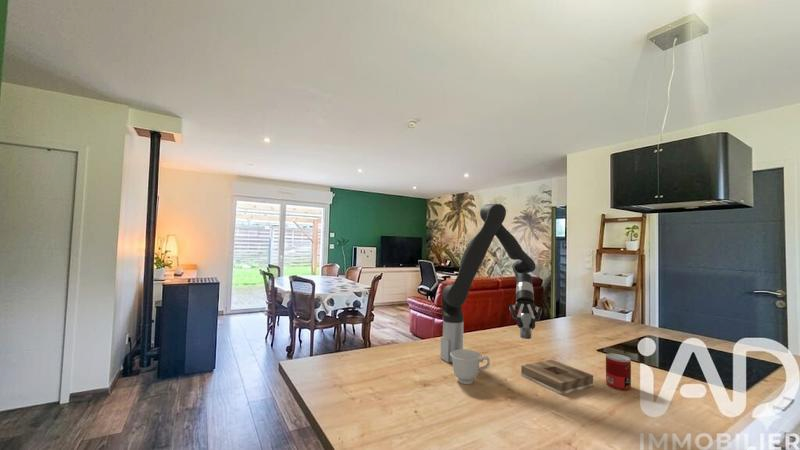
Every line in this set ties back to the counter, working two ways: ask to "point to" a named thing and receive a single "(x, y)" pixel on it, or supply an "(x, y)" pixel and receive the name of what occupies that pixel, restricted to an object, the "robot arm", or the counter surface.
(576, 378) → the socket base
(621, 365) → the canned food
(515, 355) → the counter surface
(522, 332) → the post
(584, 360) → the counter surface
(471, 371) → the teacup
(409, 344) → the counter surface
